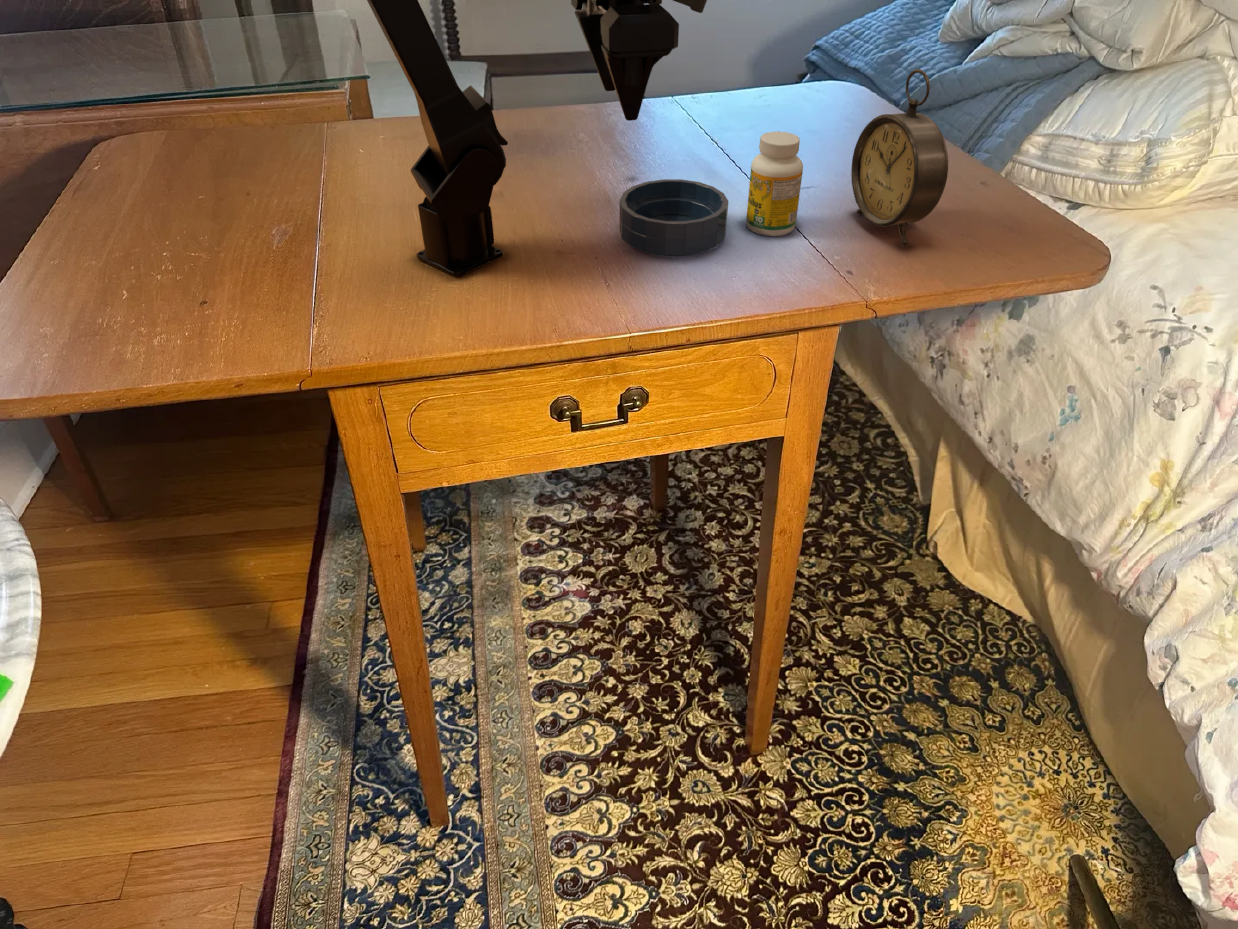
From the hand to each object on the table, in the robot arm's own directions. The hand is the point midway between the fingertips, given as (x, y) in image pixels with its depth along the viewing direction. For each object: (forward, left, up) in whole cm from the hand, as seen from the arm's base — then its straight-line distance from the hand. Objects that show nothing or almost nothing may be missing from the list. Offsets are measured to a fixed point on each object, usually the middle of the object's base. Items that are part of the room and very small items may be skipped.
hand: (620, 104), depth 86 cm
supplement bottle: (+11, -12, -13) cm, 21 cm away
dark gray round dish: (+2, -6, -13) cm, 14 cm away
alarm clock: (+19, -22, -13) cm, 32 cm away
